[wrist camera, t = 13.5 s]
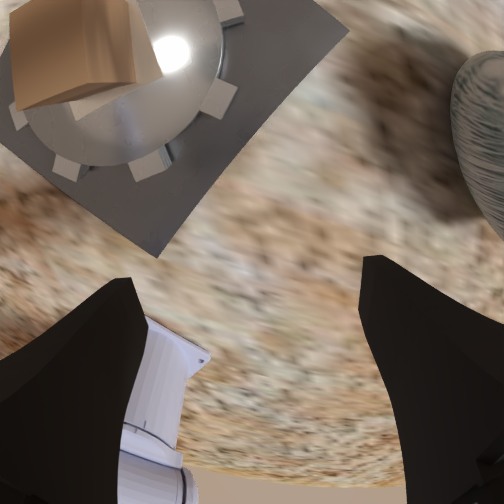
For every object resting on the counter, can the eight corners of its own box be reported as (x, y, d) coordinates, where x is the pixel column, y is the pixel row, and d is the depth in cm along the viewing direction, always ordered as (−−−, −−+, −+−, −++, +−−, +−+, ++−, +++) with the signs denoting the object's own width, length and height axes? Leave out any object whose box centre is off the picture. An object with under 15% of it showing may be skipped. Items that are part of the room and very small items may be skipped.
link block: (136, 82, 13) (88, 82, 8) (76, 100, 13) (16, 111, 9) (128, 2, 11) (80, -25, 6) (68, 24, 11) (9, 13, 6)
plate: (158, 255, 20) (156, 259, 20) (-21, 119, 15) (-26, 121, 14) (347, 32, 14) (350, 30, 13) (114, -95, 8) (111, -98, 8)
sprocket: (281, 127, 16) (295, 143, 11) (66, 210, 18) (18, 252, 13) (200, -82, 9) (182, -131, 4) (3, 31, 11) (-55, 30, 6)
